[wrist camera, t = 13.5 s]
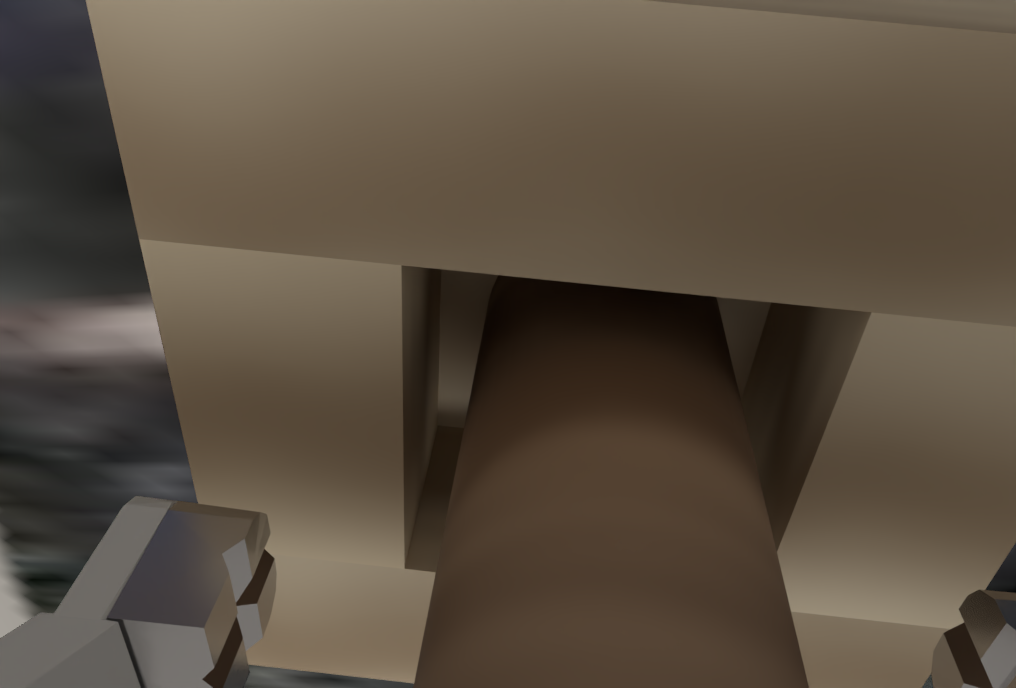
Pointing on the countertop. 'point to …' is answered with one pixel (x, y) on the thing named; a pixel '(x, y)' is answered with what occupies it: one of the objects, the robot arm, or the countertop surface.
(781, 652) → the peg
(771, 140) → the socket block
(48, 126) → the countertop surface
